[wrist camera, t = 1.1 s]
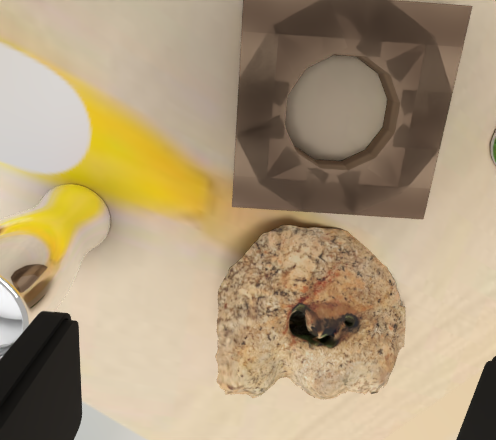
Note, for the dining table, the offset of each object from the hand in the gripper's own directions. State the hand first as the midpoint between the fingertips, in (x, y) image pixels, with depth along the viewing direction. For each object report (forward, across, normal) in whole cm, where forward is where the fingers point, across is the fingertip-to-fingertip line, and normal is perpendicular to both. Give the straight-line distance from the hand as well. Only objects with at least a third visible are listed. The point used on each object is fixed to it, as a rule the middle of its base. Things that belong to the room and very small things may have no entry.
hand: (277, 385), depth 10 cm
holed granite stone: (+27, -6, +12) cm, 30 cm away
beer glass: (+27, +15, +8) cm, 31 cm away
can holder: (+26, -6, -4) cm, 27 cm away
